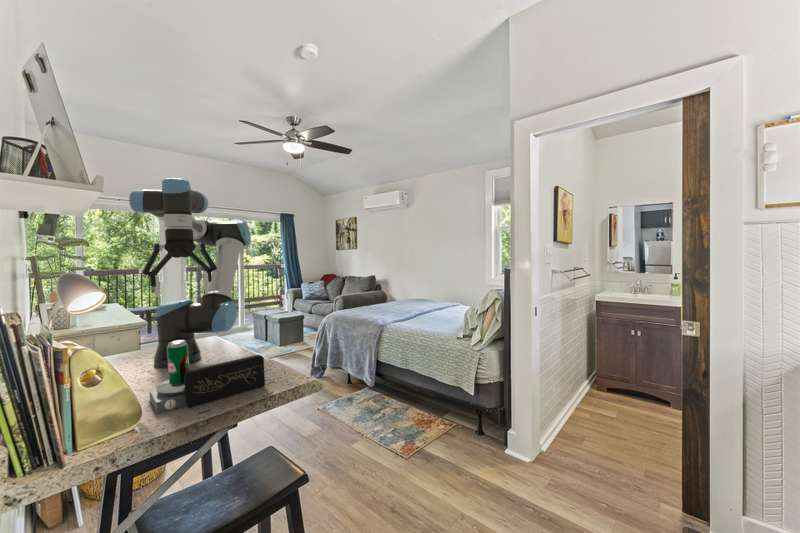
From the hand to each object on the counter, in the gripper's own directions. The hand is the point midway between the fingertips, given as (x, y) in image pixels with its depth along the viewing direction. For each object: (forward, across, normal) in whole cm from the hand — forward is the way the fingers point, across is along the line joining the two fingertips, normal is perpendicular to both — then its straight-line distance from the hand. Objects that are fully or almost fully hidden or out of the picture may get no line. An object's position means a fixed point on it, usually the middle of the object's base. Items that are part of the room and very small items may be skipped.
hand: (183, 294), depth 110 cm
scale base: (+28, -5, -14) cm, 32 cm away
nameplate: (+29, +5, -22) cm, 37 cm away
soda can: (+24, -5, -14) cm, 28 cm away
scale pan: (+25, -5, -14) cm, 29 cm away
